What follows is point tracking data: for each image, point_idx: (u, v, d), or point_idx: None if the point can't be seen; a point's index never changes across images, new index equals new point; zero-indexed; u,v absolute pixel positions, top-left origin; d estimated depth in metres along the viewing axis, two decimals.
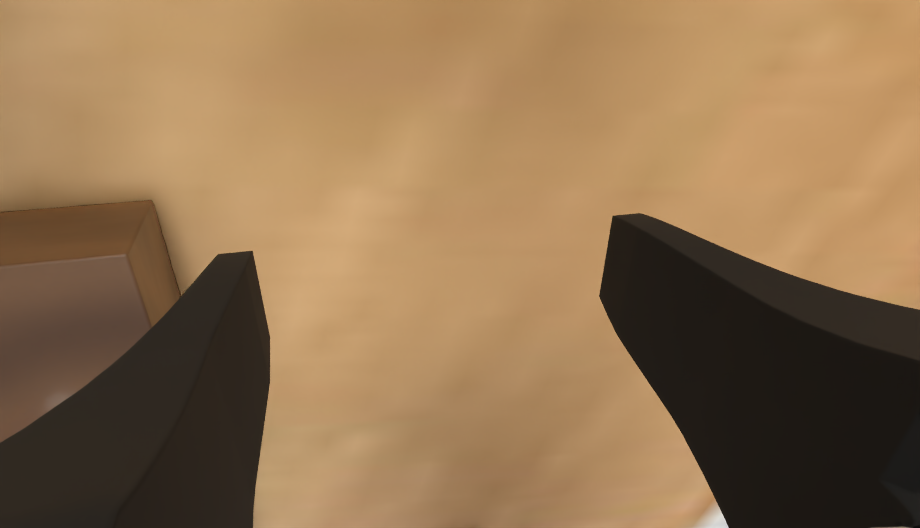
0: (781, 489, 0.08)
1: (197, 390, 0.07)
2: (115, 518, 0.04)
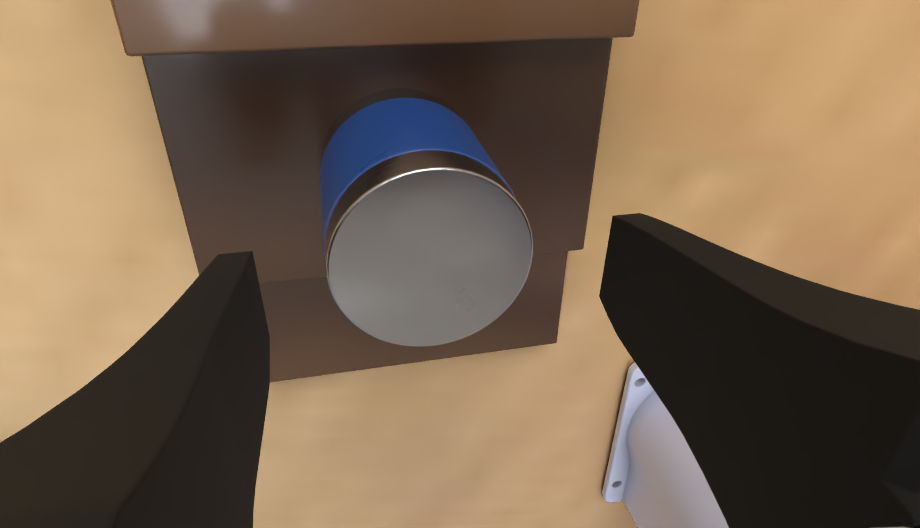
0: (781, 489, 0.08)
1: (196, 391, 0.07)
2: (115, 518, 0.04)
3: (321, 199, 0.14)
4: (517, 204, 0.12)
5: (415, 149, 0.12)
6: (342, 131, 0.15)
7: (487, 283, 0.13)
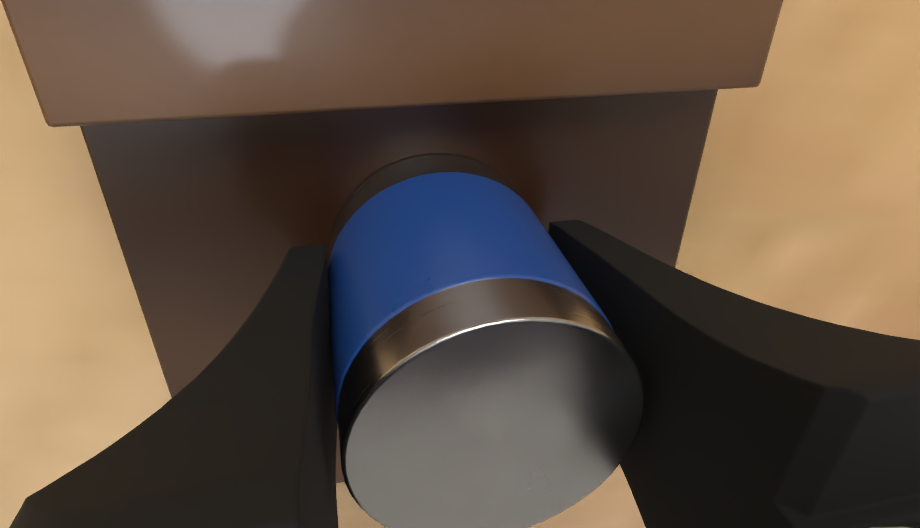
0: (693, 507, 0.08)
1: (311, 374, 0.07)
2: (296, 487, 0.05)
3: (330, 321, 0.10)
4: (629, 359, 0.08)
5: (475, 276, 0.08)
6: (360, 221, 0.11)
7: (574, 459, 0.09)
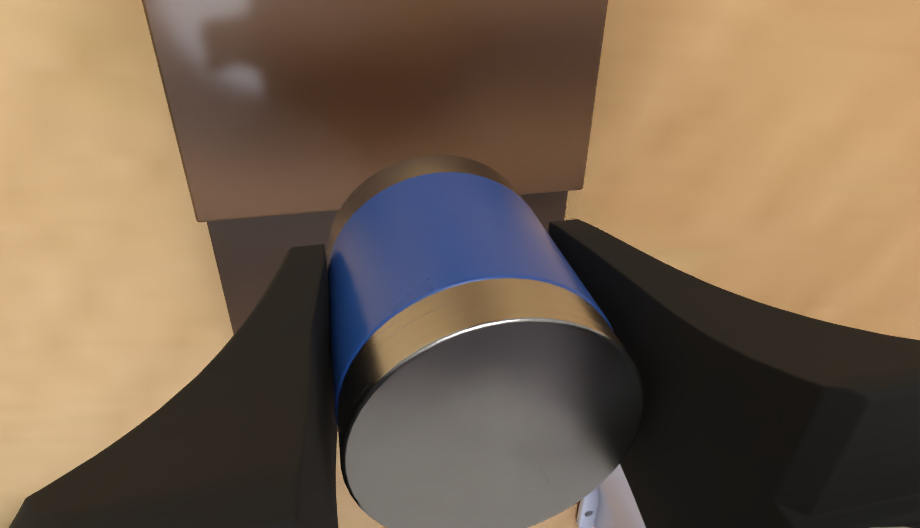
0: (693, 507, 0.08)
1: (310, 375, 0.07)
2: (295, 487, 0.05)
3: (330, 321, 0.10)
4: (629, 360, 0.08)
5: (476, 277, 0.08)
6: (359, 221, 0.11)
7: (574, 460, 0.09)
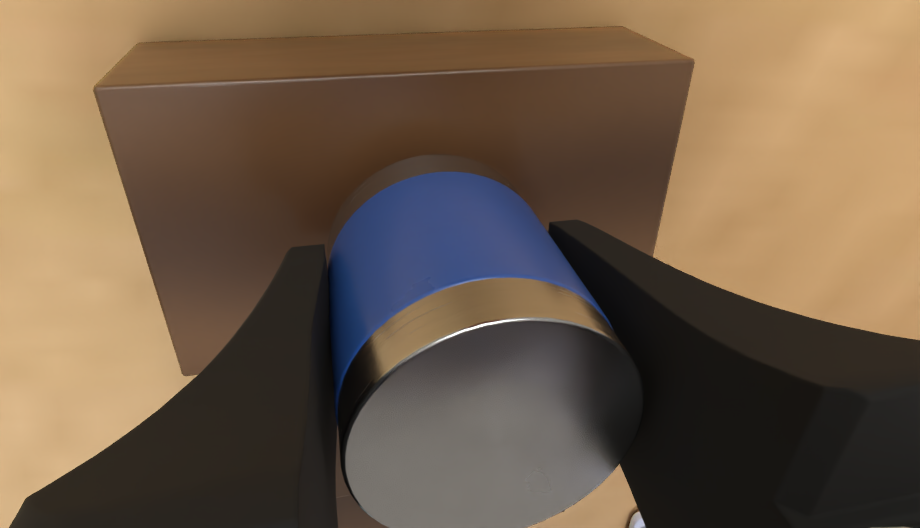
0: (693, 506, 0.08)
1: (311, 375, 0.07)
2: (295, 487, 0.05)
3: (330, 321, 0.10)
4: (629, 359, 0.08)
5: (475, 275, 0.08)
6: (359, 220, 0.11)
7: (574, 459, 0.09)
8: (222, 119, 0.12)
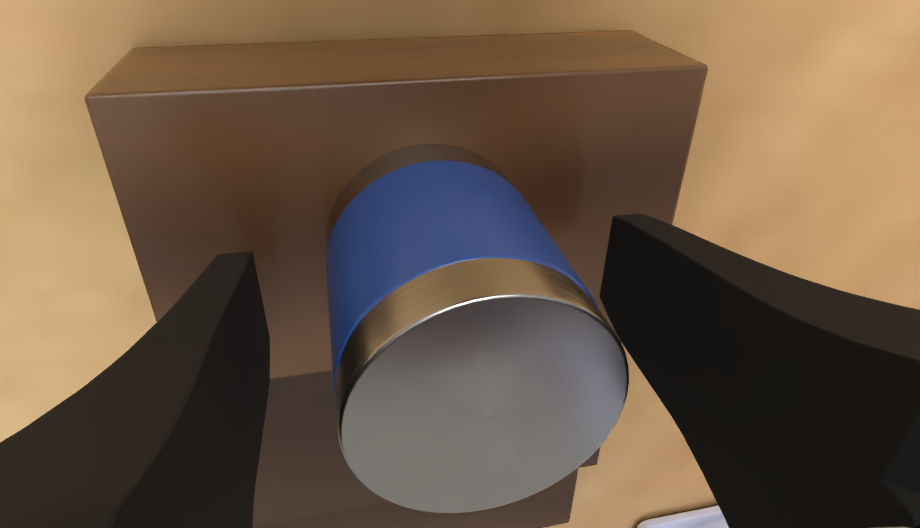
0: (781, 489, 0.08)
1: (196, 390, 0.07)
2: (115, 518, 0.04)
3: (329, 303, 0.11)
4: (613, 335, 0.09)
5: (466, 256, 0.08)
6: (356, 207, 0.11)
7: (562, 433, 0.09)
8: (220, 129, 0.11)
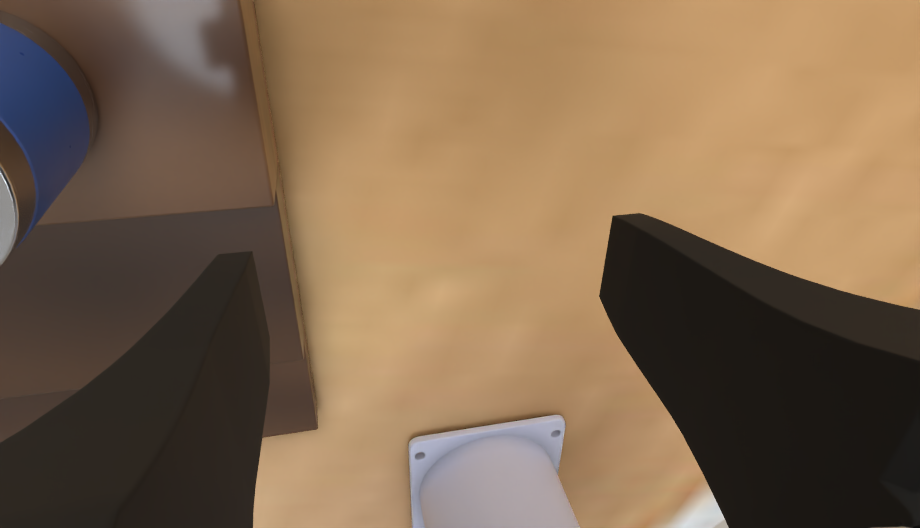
0: (781, 489, 0.08)
1: (196, 390, 0.07)
2: (115, 518, 0.04)
3: None
4: None
5: None
6: None
7: None
8: None
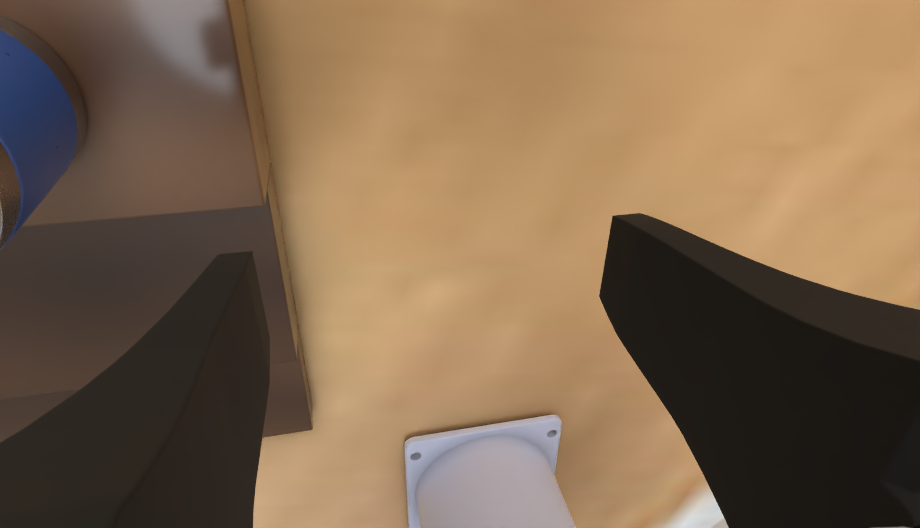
0: (781, 489, 0.08)
1: (196, 390, 0.07)
2: (115, 518, 0.04)
3: None
4: None
5: None
6: None
7: None
8: None
